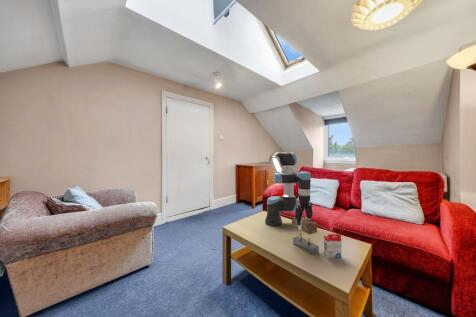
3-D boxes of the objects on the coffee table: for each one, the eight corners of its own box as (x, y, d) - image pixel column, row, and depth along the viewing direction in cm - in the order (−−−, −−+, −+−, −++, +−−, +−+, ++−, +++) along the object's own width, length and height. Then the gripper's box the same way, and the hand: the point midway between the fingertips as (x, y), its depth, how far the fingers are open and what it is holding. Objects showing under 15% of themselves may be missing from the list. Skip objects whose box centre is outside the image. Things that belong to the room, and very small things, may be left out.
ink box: (336, 253, 114) (337, 230, 113) (341, 257, 109) (341, 234, 108) (323, 253, 113) (323, 230, 113) (327, 258, 108) (328, 234, 108)
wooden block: (291, 226, 126) (291, 217, 125) (298, 224, 129) (298, 215, 129) (309, 234, 113) (309, 225, 112) (317, 232, 116) (317, 222, 116)
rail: (293, 243, 126) (293, 232, 125) (299, 241, 129) (299, 231, 128) (312, 254, 112) (312, 243, 111) (318, 252, 115) (318, 240, 114)
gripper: (298, 197, 112) (297, 234, 113) (318, 194, 122) (318, 227, 123) (289, 195, 118) (288, 229, 119) (309, 192, 128) (309, 223, 129)
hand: (303, 228), depth 121 cm, fingers closed on wooden block, 7 cm apart
